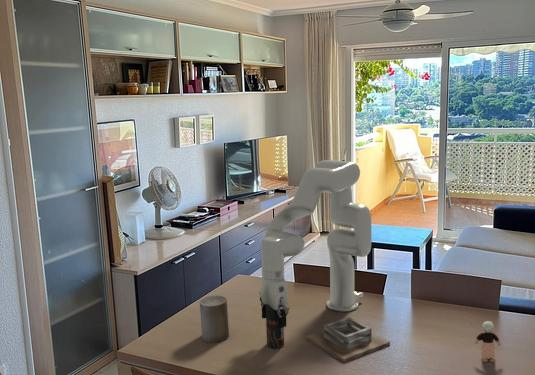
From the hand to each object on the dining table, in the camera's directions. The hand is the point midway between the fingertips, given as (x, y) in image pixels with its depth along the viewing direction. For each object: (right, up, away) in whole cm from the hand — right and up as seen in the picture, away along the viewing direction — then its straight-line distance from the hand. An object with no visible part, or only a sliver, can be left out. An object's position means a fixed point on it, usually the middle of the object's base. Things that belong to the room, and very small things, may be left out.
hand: (273, 322), depth 177 cm
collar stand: (+25, -7, +2) cm, 26 cm away
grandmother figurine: (+67, -9, -13) cm, 69 cm away
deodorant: (+1, -8, +2) cm, 9 cm away
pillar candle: (-21, -8, +10) cm, 24 cm away
